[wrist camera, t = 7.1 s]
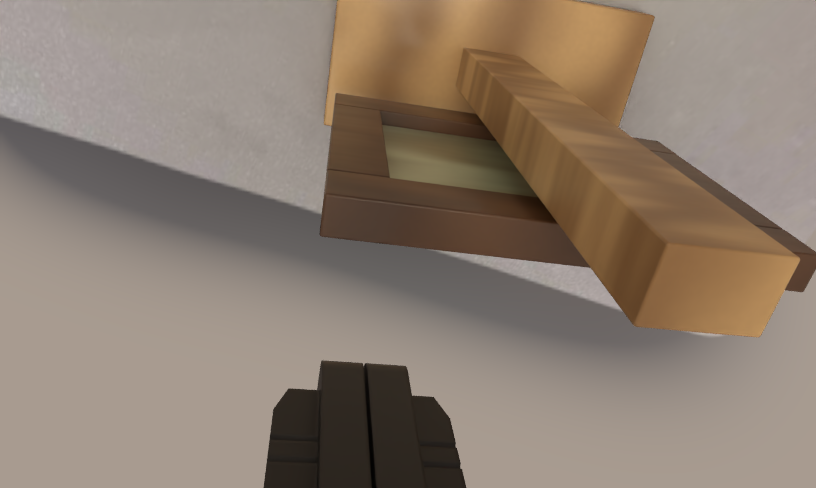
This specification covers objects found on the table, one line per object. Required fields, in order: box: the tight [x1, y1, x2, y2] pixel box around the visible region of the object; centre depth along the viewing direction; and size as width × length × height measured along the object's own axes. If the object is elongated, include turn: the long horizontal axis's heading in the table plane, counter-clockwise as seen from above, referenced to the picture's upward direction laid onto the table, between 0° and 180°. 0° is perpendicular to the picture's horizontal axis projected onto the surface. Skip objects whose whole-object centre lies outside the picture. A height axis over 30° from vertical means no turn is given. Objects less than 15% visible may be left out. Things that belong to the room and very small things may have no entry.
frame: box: [320, 93, 816, 292], centre depth 24 cm, size 16×1×12 cm, turn 80°
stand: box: [324, 0, 800, 337], centre depth 23 cm, size 16×8×23 cm, turn 80°
